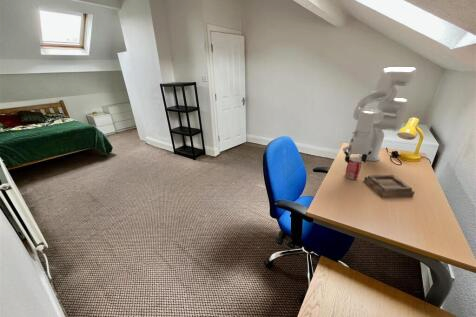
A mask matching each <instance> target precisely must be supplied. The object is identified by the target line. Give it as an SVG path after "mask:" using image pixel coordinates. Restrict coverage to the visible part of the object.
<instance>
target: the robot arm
mask: <svg viewBox="0 0 476 317" xmlns="http://www.w3.org/2000/svg"><path fill="white" fill-rule="evenodd" d="M417 73H418V70H417V68H415V67H387V68H386V67H385V68H383V69H381V72H380V77H379V78H378V80H377V83H376V85H375V87H374V89H373V91H372V92H369V93H368V94H366V95H365V96H363V97H362V98H361V99H360V100H359V102H357V105H356V106H355V109H354V111H353V115H352V116H353V119H354V120H355V121H357V122H356V126H355V130H354V131H353V132H352V137H351V139H350V141H349V143H348V145H347V146H345V147H343V148H342V151H343V153H344V155H345V157H344V162H345V163H347V164H348V163H349V160H350V158H351V155H359V157H360V158H361V159H360V160H361V162H363V163H366V161H369V162H378V161H380V160H381V157H380V156H379V154H380V151H381V148H382V145H383V142H384V138H385V133H384V131H391V132H398V131H400V129H401V128H402V127H403V123H404V121H405V118H406V114H407V111H408V109H409V105H410V104H409V103H410V102H409V100H408V99H407V98H397V97H398V93H399V87H406V86H409V85H410V84H412V83H413V82H414V81H415V78H416V77H417ZM376 102H377V107H376V108H372V107H371V108H370V107H366V106H367V105H369V104H372V103H376ZM385 113H387V114H385ZM391 114H394V115H391Z"/></svg>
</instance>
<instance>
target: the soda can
mask: <svg viewBox="0 0 476 317" xmlns="http://www.w3.org/2000/svg"><path fill="white" fill-rule="evenodd" d="M361 167H362V161H361V159H360V158H358V157H350V160H349V163H347V165H346V168H345V172H344V173H345V174H344V175H345V177H346V178H347V179H349V180H357V179H358V177H359V175H360V171H361Z"/></svg>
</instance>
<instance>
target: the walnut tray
mask: <svg viewBox="0 0 476 317" xmlns="http://www.w3.org/2000/svg"><path fill="white" fill-rule="evenodd" d="M363 182H364V183H365V184H366V185H367V186H369V188H370V189H372V190H374V192H375V193H376V194H377V195H379V196H380V197H381V198H382V199H383V198H384V199H389V198H392V199H393V198H411V197H414V195H415V191H414V190H413V188H412V187H411V186H410V185H408V184H406V183H405V182H404V181H402V180H401V179H399V177H397V176H395V175H394V174H382V175H381V174H377V175H368V176H365V177H364V180H363Z"/></svg>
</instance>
